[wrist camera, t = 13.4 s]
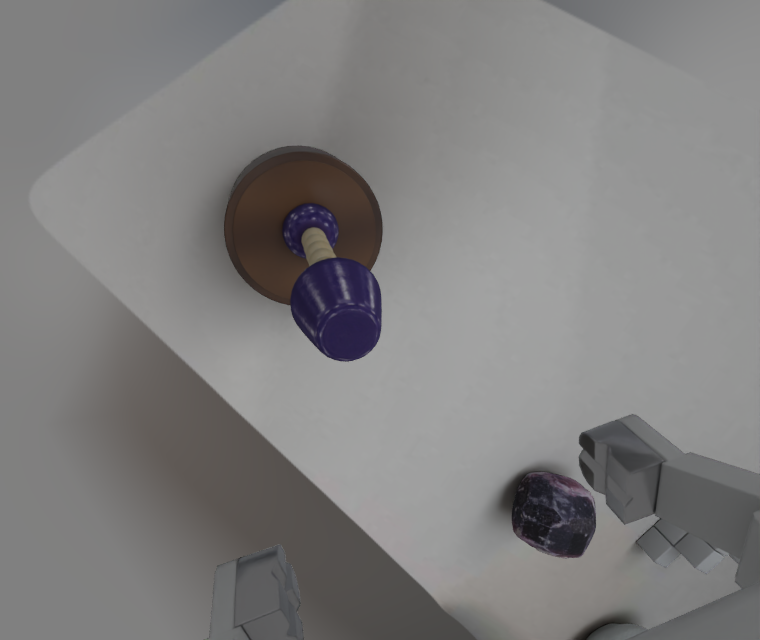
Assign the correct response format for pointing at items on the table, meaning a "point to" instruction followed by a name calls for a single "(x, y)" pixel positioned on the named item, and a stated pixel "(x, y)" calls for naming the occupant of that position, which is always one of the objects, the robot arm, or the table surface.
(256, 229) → the wooden drum
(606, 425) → the robot arm
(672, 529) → the grey stepped block
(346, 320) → the toy lamp
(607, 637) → the cereal bowl
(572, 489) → the mineral specimen
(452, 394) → the table surface
